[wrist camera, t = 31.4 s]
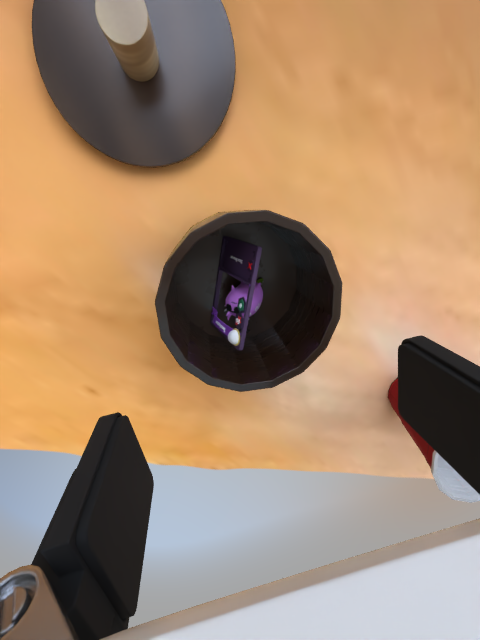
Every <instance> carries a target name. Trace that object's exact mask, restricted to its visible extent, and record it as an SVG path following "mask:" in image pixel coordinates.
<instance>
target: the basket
mask: <svg viewBox="0 0 480 640" xmlns="http://www.w3.org/2000/svg"><path fill="white" fill-rule="evenodd" d="M223 236H228V237H231V238H234V239H238V240H241V241H244V242H247V243H250V244H254V245H257V246H260V247H261V248H262V252H261V257H260V262H259V267H258V273H257V278H256V281H257V280H258V279H260V278H263V282H262V284H261V287H262V290H263V300H262V303H261V306H260V307H259V309H258V310H257V312H256V313H255V314H253V315H252V316H250V317H249V320H248V326H247V331H246V336H245V341H244V347H243V350H237V349H236V348H235V347H234V346H233V345H232V344H231V343H230V342H229V341H228V340H227V339H226V338H225V337H224V336H223V335H222V334H221V333H220V332H219V331H218V330H217V329H216V328H215V327H214V326H213V325H212V324H211V313H212V307H213V300H214V294H215V287H216V280H217V273H218V266H219V259H220V252H221V246H222V239H223ZM240 284H241V281H239V280H238V279H236V278H234V277H232V276H230V275H229V274H227V273H225V272H223V274H222V280H221V287H220V293H219V300H218V307H217V312H218V313H217V317H218V318H219V319H220V320H221V321H222V322H224V323H225V324H226V325H228V326H229V327H231V328H233V329H234V328H237V327H236V325H235V316H233V315H231V316H230V318H229V320H228V319H227V317H228V316H226V315H227V313H228V312H229V311H228V310H226V311H224V310H225V309H226V306H225V304H226V297H227V295H228V294H229V293H230V291H231V287H232V285H233V286H234V288H236V287H237V286H239V285H240ZM341 295H342V281H341V278H340V276H339V273H338V270H337V267H336V265H335V262H334V259H333V256H332V254H331V251H330V250H329V248H328V247H327V246H326V245H325V244H324V243H323V242H322V241H321V240H320V239H319V238H318V237H317V236H316V235H315V234H314V233H313V232H312V231H311V230H310V229H309V228H308V227H307V226H306V225H305V224H303V223H301V222H298V221H296V220H293V219H290V218H287V217H285V216H282V215H279V214H277V213H274V212H271V211H267V210H244V211H231V212H218V213H216V214H214V215H212V216H210V217H208V218H206V219H204V220H203V221H201V222H199V223H197V224H195V225H193V226H192V227H191V228H190V229H189V231H188V232H187V233H186V234H185V236H184V237H183V238H182V240H181V241H180V242H179V243H178V245H177V246H176V247H175V249H174V250H173V252H172V253H171V255H170V257H169V258H168V260H167V262H166V263H165V265H164V268H163V272H162V276H161V280H160V284H159V288H158V292H157V296H156V300H155V306H156V312H157V317H158V323H159V329H160V335H161V338H162V340H163V341H164V343H165V344H166V346H167V347H168V349H169V350H170V352H171V353H172V355H173V356H174V358H175V359H176V361H177V362H178V364H179V365H180V366H181V367H182V368H183V369H185V370H186V371H188V372H190V373H191V374H193V375H194V376H196V377H197V378H199V379H200V380H202V381H203V382H205V383H206V384H208V385H211V386H216V387H221V388H225V389H230V390H235V391H239V392H240V391H241V392H243V391H250V390H258V389H265V388H272V387H275V386H277V385H279V384H281V383H283V382H285V381H287V380H289V379H291V378H293V377H295V376H297V375H299V374H301V373H302V372H304V371H305V370H306V369H307V368H308V367H309V366H310V365H311V364H312V363H313V362H314V361H315V359H316V358H317V357H318V356H319V355H320V354H321V353H322V352H323V351H324V350H325V349H326V348H327V346H328V343H329V341H330V339H331V337H332V335H333V333H334V330H335V328H336V326H337V324H338V322H339V319H340V313H341ZM238 330H239V333H240V334H241V329H238Z"/></svg>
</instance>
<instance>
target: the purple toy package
mask: <svg viewBox="0 0 480 640" xmlns="http://www.w3.org/2000/svg"><path fill="white" fill-rule="evenodd" d="M261 252H262V248H261V247H260V246H257V245H254V244H250V243H247V242H244V241H241V240H238V239H234V238H231V237H228V236H223V239H222V246H221V252H220V259H219V266H218V273H217V280H216V287H215V294H214V300H213V307H212V313H211V324H212V325H213V326H214V327H215V328H216V329H217V330H218V331H219V332H220V333H221V334H222V335H223V336H224V337H225V338H226V339H227V340H228V341H229V342H230V343H231V344H232V345H233V346H234V347H235V348H236V349H237V350H243V347H244V341H245V336H246V331H247V326H248V320H249V317H250V316H252V315H253V314H255V313H256V312H257V310H258V309H259V307H260V306H261V303H262V300H263V290H262V287H261V284H262V282H263V278H260V279H258V280H257V281H256V278H257V273H258V267H259V262H260V257H261ZM223 272H225V273H227V274H229V275H230V276H232V277H234V278H236V279H238V280H239V281H241V284H240V285H239V286H237V287H236V288H234V286H233V285H232V287H231V291H230V293H229V294H228V295H227V297H226V304H225V306H226V309H225V310H224V311H226V310H228V311H229V312H228V313H227V315H226V316H228V317H227V319H228V320H229V318H230V316H231V315H233V316H235V325H236V327H237V328H234V329H233V328H231V327H229V326H228V325H226V324H225V323H224V322H222V321H221V320H220V319H219V318H218V317H217V313H218V312H217V307H218V300H219V293H220V287H221V280H222V274H223ZM238 329H241V334H240V333H239V330H238Z"/></svg>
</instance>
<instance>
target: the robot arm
mask: <svg viewBox="0 0 480 640" xmlns="http://www.w3.org/2000/svg"><path fill="white" fill-rule="evenodd" d="M398 411H399V413H400V415H401V417H402V418H403V419H404V420H405V421H406V422H407V423H408V424H409V425H410V426H411V427H412V428H413V429H414V430H415V431H416V432H417V433H418V434H419V435H420V436H421V437H422V438H423V439H424V440H425V441H426V442H427V443H428V444H429V445H430V446H431V447H432V448H433V449H434V450H435V451H436V452H437V453H438V454H439V455H440V456H441V457H442V458H443V459H444V460H445V461H446V462H447V463H448V464H449V465H450V466H451V467H452V468H453V469H454V470H455V471H456V472H457V473H458V474H459V475H460V476H461V477H462V478H463V479H464V480H465V481H466V482H467V483H468V484H469V485H470V486H471V487H472V488H473V489H474V490H475V491H477V492H478V493H479V494H480V367H479V366H478V365H476V364H474V363H472V362H470V361H468V360H467V359H465V358H463V357H461V356H459V355H457V354H456V353H454V352H452V351H450V350H448V349H446V348H445V347H443V346H441V345H439V344H437V343H435V342H433V341H432V340H430V339H428V338H426V337H424V336H416V337H412V338H409V339H405V340H403V342H402V345H400V346H399V347H398ZM153 486H154V483H153V476H152V473H151V471H150V469H149V466H148V464H147V461H146V459H145V457H144V454H143V452H142V449H141V447H140V445H139V442H138V440H137V437H136V435H135V433H134V430H133V428H132V425H131V423H130V421H129V418H128V417H127V416H126V415H125V416H122V415H121V414H120V413H114V414H110V415H106V416H103V417H100V418H99V420H98V422H97V424H96V426H95V428H94V431H93V433H92V435H91V437H90V440H89V442H88V444H87V446H86V449H85V451H84V453H83V455H82V457H81V460H80V462H79V465H78V466H77V468H76V469H75V471H74V472H73V474H72V476H71V478H70V480H69V483H68V485H67V487H66V489H65V492H64V494H63V496H62V498H61V500H60V502H59V505H58V507H57V509H56V511H55V514H54V516H53V518H52V520H51V522H50V524H49V527H48V529H47V531H46V533H45V535H44V538H43V540H42V542H41V544H40V546H39V549H38V551H37V553H36V555H35V558H34V560H33V562H32V564H31V565H27V566H22V567H19V568H17V569H15V570H13V571H11V572H9V573H8V574H6V575H5V576H3V577H2V578H1V579H0V640H480V519H477V520H473V521H470V522H467V523H463V524H460V525H457V526H453V527H450V528H447V529H443V530H440V531H437V532H433V533H430V534H427V535H423V536H420V537H417V538H414V539H410V540H407V541H404V542H400V543H397V544H394V545H391V546H387V547H384V548H381V549H378V550H374V551H371V552H368V553H364V554H361V555H358V556H355V557H351V558H348V559H345V560H342V561H339V562H335V563H332V564H329V565H325V566H322V567H319V568H316V569H312V570H309V571H306V572H303V573H299V574H297V575H293V576H290V577H287V578H283V579H280V580H277V581H274V582H271V583H268V584H264V585H261V586H258V587H255V588H252V589H249V590H245V591H242V592H239V593H236V594H233V595H229V596H226V597H223V598H220V599H217V600H214V601H210V602H207V603H204V604H201V605H197V606H194V607H192V608H188V609H185V610H182V611H179V612H177V613H173V614H171V615H168V616H165V617H162V618H159V619H156V620H153V621H150V622H147V623H144V624H141V625H138V626H135V627H132V628H129V629H128V622H129V617H131V616H134V614H135V612H136V608H137V602H138V595H139V587H140V580H141V573H142V566H143V559H144V552H145V544H146V537H147V530H148V523H149V516H150V508H151V501H152V493H153Z"/></svg>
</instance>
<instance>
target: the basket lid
mask: <svg viewBox="0 0 480 640" xmlns="http://www.w3.org/2000/svg"><path fill="white" fill-rule="evenodd" d="M32 34H33V45H34V50H35V55H36V61H37V64H38V67H39V70H40V74H41V77H42V79H43V81H44V84H45V86H46V89H47V91H48V93H49V95H50V97H51V98H52V100H53V102H54V104H55V106H56V107H57V109H58V110H59V112H60V113H61V114H62V116H63V117H64V119H65V120H66V121H67V122H68V123H69V125H70V126H71V127H72V128H73V129H74V130H75V131H76V132H77V133H78V134H79V135H80V136H81V137H82V138H83V139H84V140H85V141H86V142H88V143H89V144H90V145H92V146H93V147H94V148H96V149H97V150H99V151H101V152H102V153H104V154H106V155H107V156H109V157H111V158H113V159H116V160H118V161H120V162H123V163H127V164H130V165H134V166H140V167H163V166H169V165H172V164H176V163H179V162H181V161H183V160H185V159H188V158H189V157H191V156H192V155H194V154H196V153H197V152H198V151H200V150H201V149H202V148H203V147H204V146H205V145H206V144H207V143H208V142H209V141H210V140H211V139H212V137H213V136H214V135H215V133H216V132H217V130H218V129H219V127H220V126H221V124H222V122H223V119H224V117H225V115H226V113H227V110H228V107H229V104H230V101H231V97H232V92H233V87H234V79H235V50H234V41H233V36H232V32H231V27H230V23H229V20H228V17H227V14H226V11H225V9H224V6H223V4H222V2H221V0H34V4H33V10H32Z"/></svg>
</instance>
